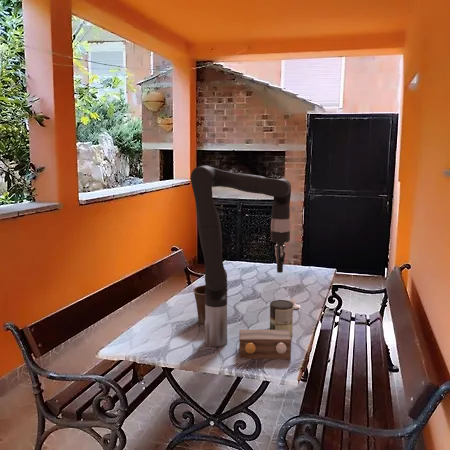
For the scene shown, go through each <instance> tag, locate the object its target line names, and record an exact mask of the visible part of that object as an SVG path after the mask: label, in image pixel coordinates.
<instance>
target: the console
mask: <svg viewBox="0 0 450 450" xmlns="http://www.w3.org/2000/svg"><path fill="white" fill-rule="evenodd" d="M238 331H239V338H238V339H239V341H238V342H239V346H238V347H239V348H238V349H239V359H240V360H242V359H244V360H249V359H250V360H251V359H252V360H256V359H257V360H258V359H259V360H260V359H261V360H264V359H266V360H270V359H273V360H278V359H282V360H285V359H287V360H288V359H290V360H292V359H291V358H292V338H291V337H292V336H290V334H289V331H288V330H270V329H239V330H238ZM246 342H254V344H255V348H256V350H255V352H254V353H251V354H250V353H247V352H246V350H245V346H246ZM276 342H285V345H286V352H285V353H282V354H280V353H278V352H277V350H276Z"/></svg>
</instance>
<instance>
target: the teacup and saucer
mask: <svg viewBox="0 0 450 450" xmlns="http://www.w3.org/2000/svg"><path fill="white" fill-rule="evenodd" d="M289 301H290V302H292V303H293V310H297V309H301V307H302V306H301V305H300V304H297V303H296V301H297V300H296V298H289Z"/></svg>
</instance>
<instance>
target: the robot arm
mask: <svg viewBox="0 0 450 450" xmlns="http://www.w3.org/2000/svg"><path fill="white" fill-rule="evenodd" d="M190 183H191V187H192V192H193V196H194V201H195V210H196V219H197V226H198V227H197V228H198V235H199V241H200V246H201V251H202V255H203V259H204V260H203V261H204V285H205V325H204V341H205V345H206V346H207V347H215V348H216V347H217V348H218V347H224V346H226V345H228V291H227V289H228V273H227V270H226V269H225V266H224V261H223V260H224V259H223V234H222V224H221V219H220V215H219V213H218V209H217V208H216V205H215V202H214V198H213V187H224V188H231V189H234V190H236V191H237V190H238V191H241V192H245V193H251V194H259V195H265V196H270V197H273V203H272V206H271V222H270V242H273V243H276V245H274V250H275V252H274V253H275V254H274V255H275V259H276V262H275V263H276V272H277V273H278V274H279V273H280V274H282V273H283V271H284V263H285V258H286V251H287V248H286V245H285V243H289V242H290V241H291V220H290V219H291V217H290V216H291V211H290V210H291V209H290V208H291V207H290V204H291V196H292V195H291V193H292V184H291V182H290V181H289V180H288V179H286V178H270V177H265V176H262V175H256V174H251V173H249V174H248V173H238V172H231V171H226V170H222V169H219V168H215V167H212V166H211V165H210V166H209V165H207V164H206V165H201V166H200V165H199V166H196V167H195V168H194V169H192V170H191V173H190Z"/></svg>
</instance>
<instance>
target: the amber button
mask: <svg viewBox="0 0 450 450" xmlns="http://www.w3.org/2000/svg"><path fill="white" fill-rule="evenodd" d="M245 350H246V352H247V353H250V354H251V353H254V352H255V350H256V348H255V344H254V342H246V346H245Z"/></svg>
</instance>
